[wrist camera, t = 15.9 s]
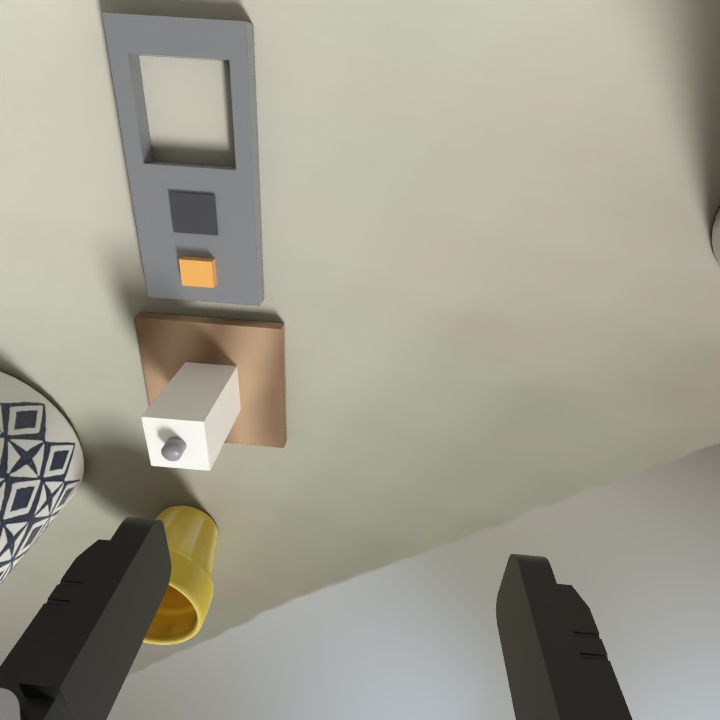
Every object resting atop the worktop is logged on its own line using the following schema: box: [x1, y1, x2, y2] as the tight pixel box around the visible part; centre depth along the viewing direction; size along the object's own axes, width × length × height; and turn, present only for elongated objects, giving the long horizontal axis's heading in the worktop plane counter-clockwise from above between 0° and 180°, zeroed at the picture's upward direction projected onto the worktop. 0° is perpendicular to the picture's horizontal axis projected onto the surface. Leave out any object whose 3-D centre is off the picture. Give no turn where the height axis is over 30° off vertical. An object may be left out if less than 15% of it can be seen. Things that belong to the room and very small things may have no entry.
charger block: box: [142, 362, 241, 471], centre depth 37 cm, size 4×4×9 cm
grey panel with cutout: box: [102, 12, 264, 306], centre depth 33 cm, size 9×18×2 cm, turn 177°
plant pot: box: [143, 505, 218, 645], centre depth 47 cm, size 10×10×10 cm
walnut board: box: [134, 312, 287, 448], centre depth 42 cm, size 12×12×1 cm
